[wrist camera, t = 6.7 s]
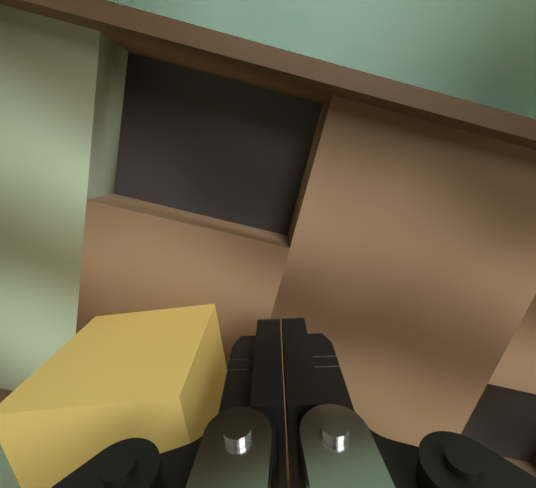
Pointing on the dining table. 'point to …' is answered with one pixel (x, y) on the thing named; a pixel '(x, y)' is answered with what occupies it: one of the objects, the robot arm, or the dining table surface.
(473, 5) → the dining table surface
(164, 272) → the trap deck
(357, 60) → the dining table surface
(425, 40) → the dining table surface
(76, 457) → the mustard block
